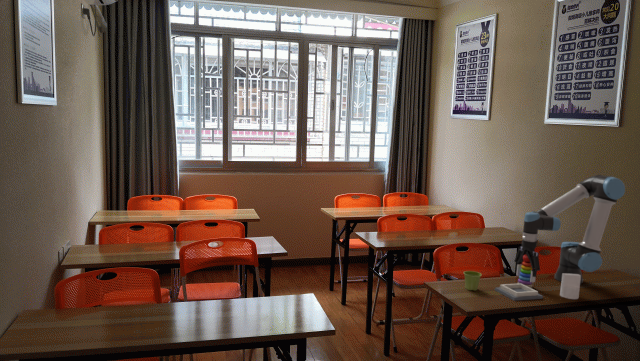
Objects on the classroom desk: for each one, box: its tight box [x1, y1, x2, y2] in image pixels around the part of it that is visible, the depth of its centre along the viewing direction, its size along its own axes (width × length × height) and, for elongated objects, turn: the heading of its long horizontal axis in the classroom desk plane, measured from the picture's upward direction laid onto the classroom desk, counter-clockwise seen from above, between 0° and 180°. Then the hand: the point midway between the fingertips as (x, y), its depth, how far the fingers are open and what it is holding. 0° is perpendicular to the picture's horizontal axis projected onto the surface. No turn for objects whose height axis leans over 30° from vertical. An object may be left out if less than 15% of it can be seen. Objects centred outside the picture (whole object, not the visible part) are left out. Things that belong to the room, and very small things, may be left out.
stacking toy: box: [516, 255, 534, 289], centre depth 286 cm, size 8×8×19 cm
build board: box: [494, 283, 544, 302], centre depth 273 cm, size 18×16×4 cm
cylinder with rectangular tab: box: [559, 273, 581, 300], centre depth 274 cm, size 9×9×12 cm
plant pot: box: [463, 270, 483, 292], centre depth 277 cm, size 9×9×9 cm
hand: (525, 278), depth 287 cm, fingers open, 11 cm apart
